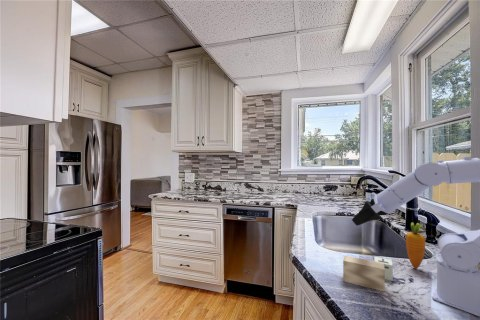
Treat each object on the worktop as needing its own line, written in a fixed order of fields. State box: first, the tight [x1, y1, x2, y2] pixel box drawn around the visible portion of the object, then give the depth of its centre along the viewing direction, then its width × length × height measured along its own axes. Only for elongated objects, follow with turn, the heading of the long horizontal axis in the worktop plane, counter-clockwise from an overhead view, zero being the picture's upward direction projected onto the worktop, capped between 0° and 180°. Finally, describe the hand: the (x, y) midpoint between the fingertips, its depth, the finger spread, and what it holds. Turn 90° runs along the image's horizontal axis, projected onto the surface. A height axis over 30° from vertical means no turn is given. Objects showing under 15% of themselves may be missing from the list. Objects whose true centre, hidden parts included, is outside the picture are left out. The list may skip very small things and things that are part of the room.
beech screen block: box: [342, 255, 386, 292], centre depth 63 cm, size 10×4×6 cm, turn 59°
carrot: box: [405, 222, 426, 270], centre depth 71 cm, size 5×5×15 cm
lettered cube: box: [373, 256, 394, 281], centre depth 67 cm, size 4×5×5 cm
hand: (357, 220), depth 68 cm, fingers open, 7 cm apart
